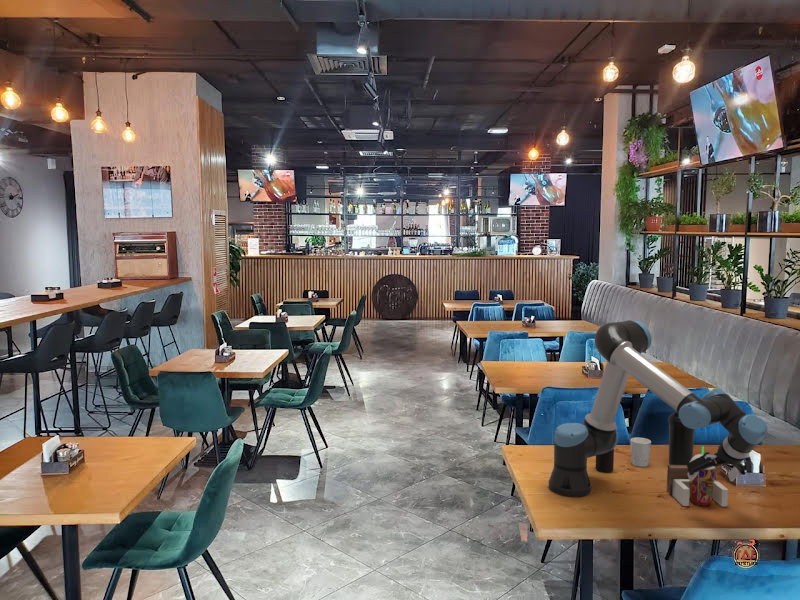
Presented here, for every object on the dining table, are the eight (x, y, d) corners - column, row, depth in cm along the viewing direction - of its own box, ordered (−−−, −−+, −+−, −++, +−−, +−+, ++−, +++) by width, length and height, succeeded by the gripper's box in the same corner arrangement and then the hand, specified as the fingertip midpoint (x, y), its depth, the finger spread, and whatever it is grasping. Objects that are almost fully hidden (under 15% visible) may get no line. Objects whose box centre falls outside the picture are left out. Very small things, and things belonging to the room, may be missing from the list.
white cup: (653, 467, 246) (654, 443, 245) (633, 467, 246) (634, 443, 245) (646, 460, 254) (646, 437, 253) (626, 460, 254) (627, 437, 253)
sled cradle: (727, 506, 209) (728, 489, 208) (683, 506, 209) (683, 489, 209) (714, 495, 218) (715, 479, 217) (672, 495, 218) (672, 479, 218)
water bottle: (697, 465, 248) (700, 410, 246) (689, 472, 240) (691, 415, 238) (671, 459, 255) (673, 406, 253) (662, 466, 247) (665, 410, 245)
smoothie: (712, 509, 207) (715, 452, 205) (685, 504, 211) (688, 448, 209) (714, 500, 214) (717, 445, 212) (688, 495, 218) (691, 441, 216)
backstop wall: (715, 495, 218) (716, 468, 218) (669, 494, 219) (671, 467, 218) (711, 492, 221) (712, 465, 221) (666, 491, 222) (667, 464, 221)
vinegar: (591, 469, 244) (593, 420, 242) (602, 465, 248) (603, 417, 246) (606, 474, 239) (608, 424, 237) (616, 470, 243) (618, 421, 241)
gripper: (698, 459, 188) (675, 488, 204) (779, 460, 187) (750, 488, 204) (690, 437, 193) (669, 467, 209) (770, 437, 192) (743, 467, 209)
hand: (709, 477), depth 206 cm, fingers open, 13 cm apart
